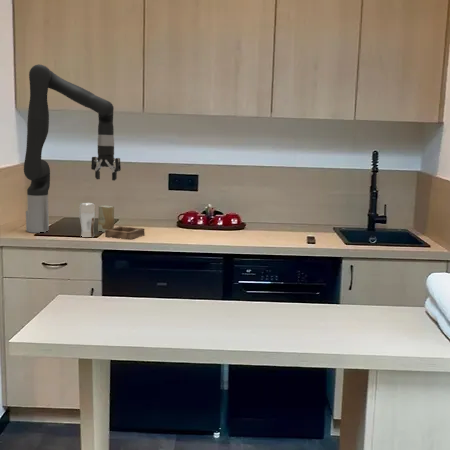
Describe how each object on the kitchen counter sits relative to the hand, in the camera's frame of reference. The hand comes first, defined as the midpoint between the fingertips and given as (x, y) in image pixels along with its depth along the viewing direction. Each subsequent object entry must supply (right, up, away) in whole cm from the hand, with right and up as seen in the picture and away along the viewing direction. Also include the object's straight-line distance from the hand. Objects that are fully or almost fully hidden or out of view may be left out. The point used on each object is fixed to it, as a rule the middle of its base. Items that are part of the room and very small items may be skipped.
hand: (105, 179), depth 289 cm
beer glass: (-7, -27, -9) cm, 29 cm away
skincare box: (-1, -24, +4) cm, 25 cm away
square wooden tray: (+10, -26, -5) cm, 28 cm away
